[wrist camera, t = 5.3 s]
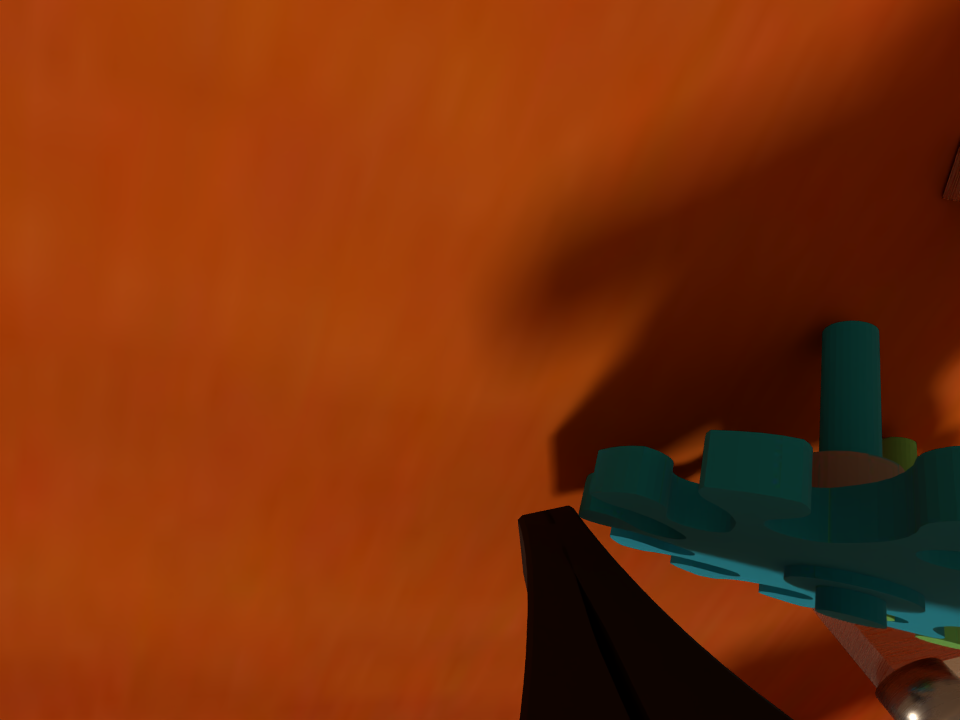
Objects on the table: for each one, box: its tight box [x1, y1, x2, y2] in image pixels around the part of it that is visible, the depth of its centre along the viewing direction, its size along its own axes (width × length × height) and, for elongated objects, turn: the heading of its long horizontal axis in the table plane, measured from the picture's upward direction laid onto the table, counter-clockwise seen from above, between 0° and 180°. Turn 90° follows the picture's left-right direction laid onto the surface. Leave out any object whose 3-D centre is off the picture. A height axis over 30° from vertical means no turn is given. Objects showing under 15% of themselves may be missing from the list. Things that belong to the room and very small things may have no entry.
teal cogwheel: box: [579, 321, 960, 649], centre depth 10 cm, size 11×6×10 cm
